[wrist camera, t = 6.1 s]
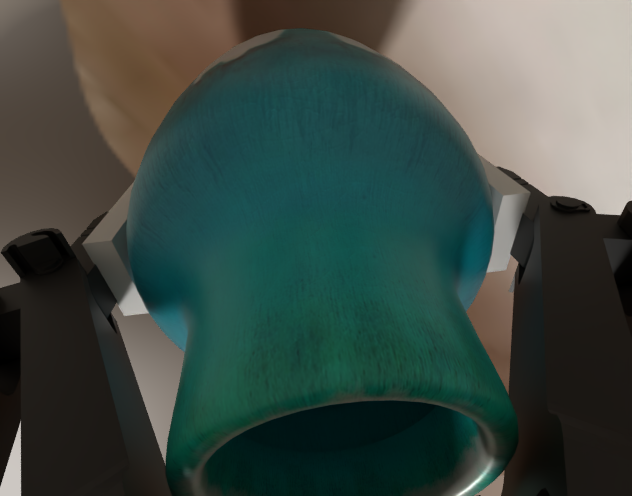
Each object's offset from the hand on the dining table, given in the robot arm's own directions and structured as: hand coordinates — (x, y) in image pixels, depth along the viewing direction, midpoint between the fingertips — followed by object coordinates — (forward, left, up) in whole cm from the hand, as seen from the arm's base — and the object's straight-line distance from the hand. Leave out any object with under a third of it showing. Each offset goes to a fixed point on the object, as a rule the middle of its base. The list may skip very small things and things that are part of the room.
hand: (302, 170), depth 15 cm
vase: (0, 0, -7) cm, 7 cm away
